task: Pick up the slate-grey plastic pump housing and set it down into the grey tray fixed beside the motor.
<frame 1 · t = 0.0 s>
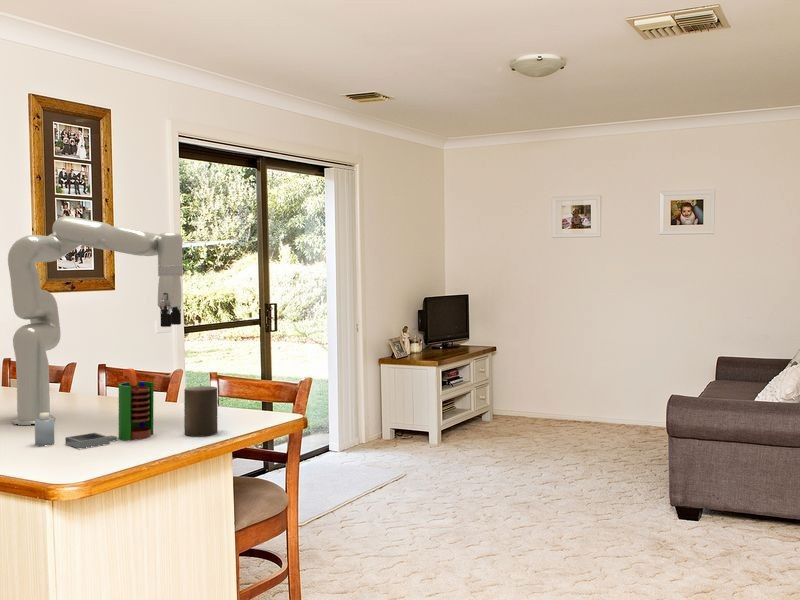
hand: (171, 325, 253), 31 cm above the table, tool pointing down, fingers open, 9 cm apart
pillar candle: (201, 433, 238), on the table
pump: (44, 444, 223), on the table
motor: (135, 437, 233), on the table
grey tray: (87, 444, 223), on the table
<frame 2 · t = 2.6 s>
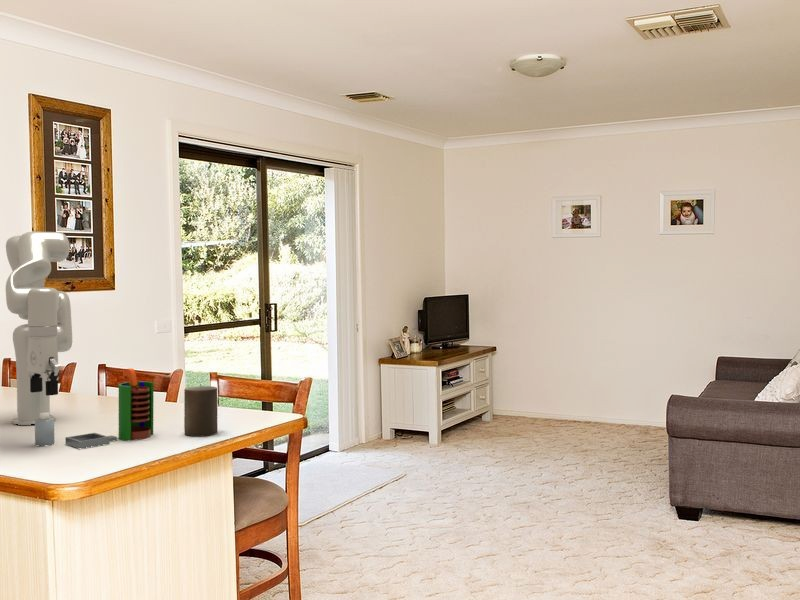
hand: (44, 393, 222), 14 cm above the table, tool pointing down, fingers open, 9 cm apart
nothing on the table moved.
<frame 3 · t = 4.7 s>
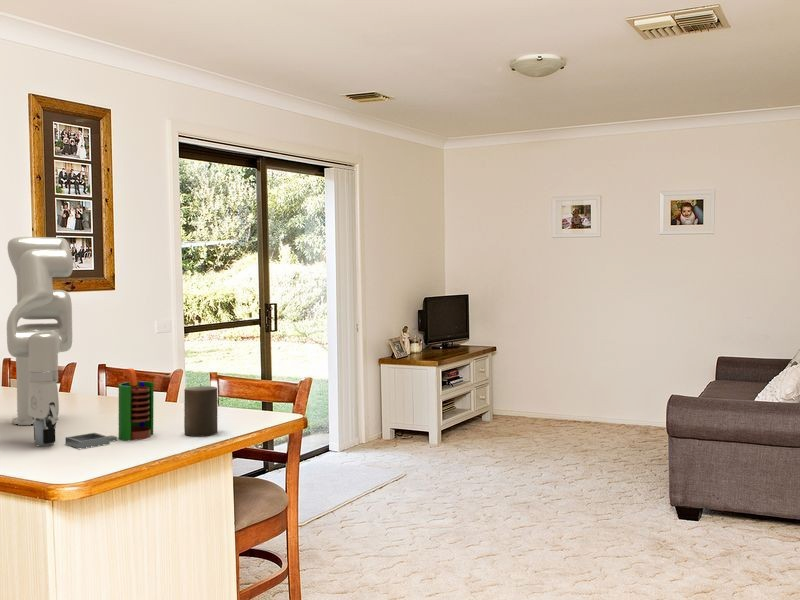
hand: (44, 440, 223), 1 cm above the table, tool pointing down, fingers closed on pump, 5 cm apart
pump: (44, 444, 223), on the table, touching gripper
everything else where it was.
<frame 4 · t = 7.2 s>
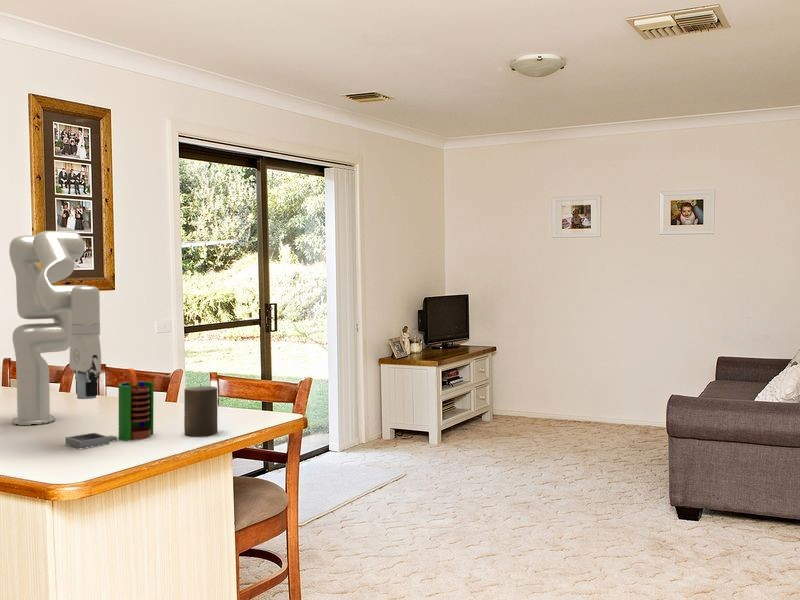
hand: (86, 394, 222), 14 cm above the table, tool pointing down, fingers closed on pump, 5 cm apart
pump: (86, 397, 222), point 13 cm above the table, touching gripper
everything else where it was.
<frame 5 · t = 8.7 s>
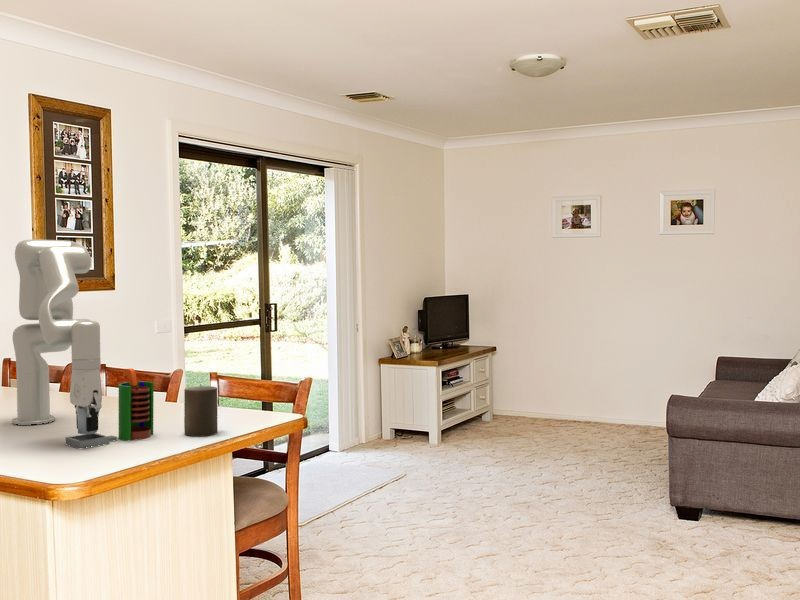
hand: (87, 428, 223), 4 cm above the table, tool pointing down, fingers closed on pump, 5 cm apart
pump: (87, 432, 223), point 3 cm above the table, touching gripper
everything else where it was.
when the fingers open (3 cm above the table, at t = 9.9 s): pump drops 2 cm, resting in grey tray.
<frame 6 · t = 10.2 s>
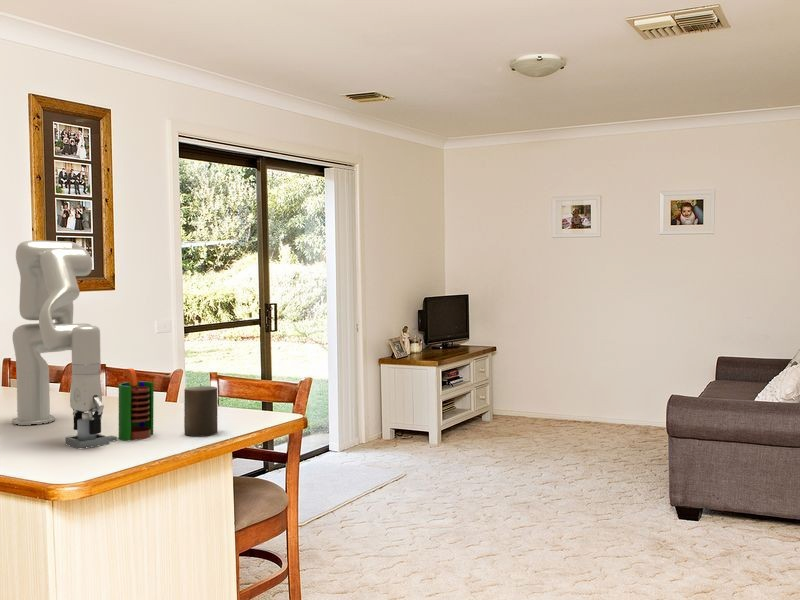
hand: (87, 431, 223), 4 cm above the table, tool pointing down, fingers open, 8 cm apart
pump: (87, 444, 223), resting in grey tray
everything else where it was.
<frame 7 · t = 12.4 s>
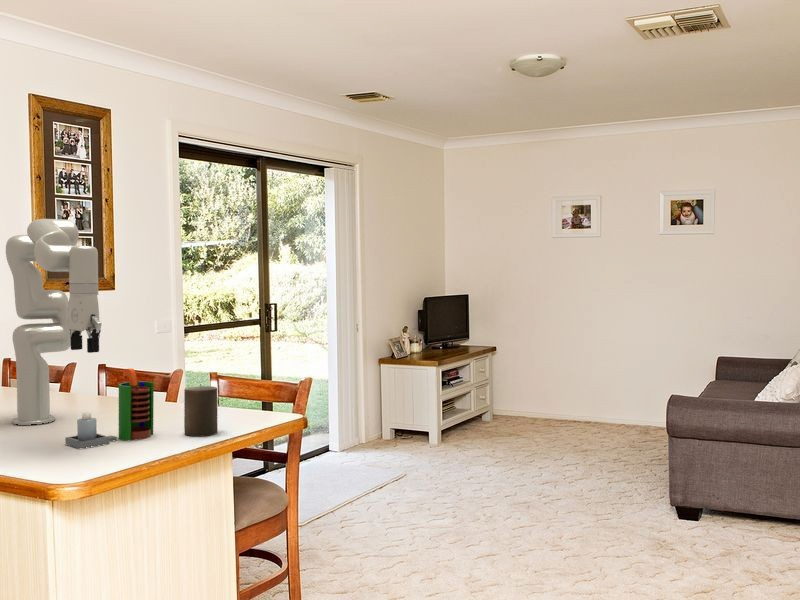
hand: (84, 350, 223), 26 cm above the table, tool pointing down, fingers open, 9 cm apart
nothing on the table moved.
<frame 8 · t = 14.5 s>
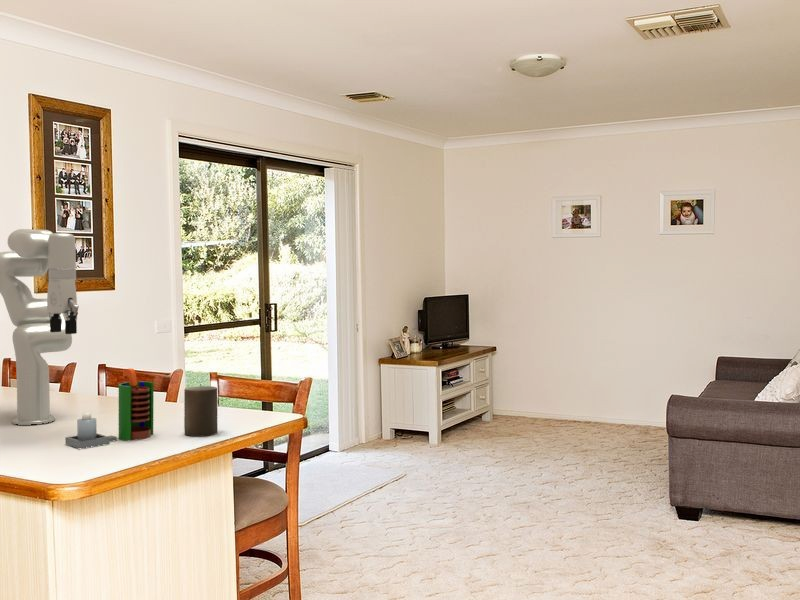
hand: (63, 332, 235), 30 cm above the table, tool pointing down, fingers open, 9 cm apart
nothing on the table moved.
at the end: pump 0.2 cm off-centre on the grey tray, point 0.0 cm above the grey tray's base; pump tilted 0°; motor moved 0.2 cm from its start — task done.
